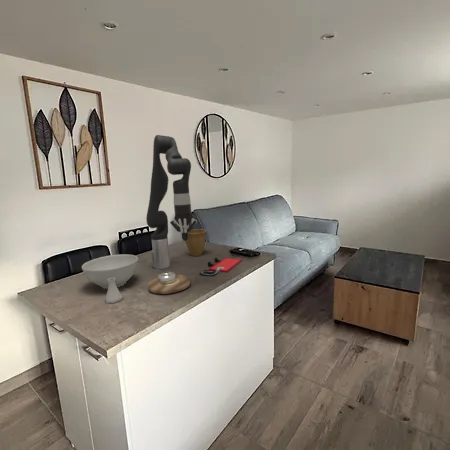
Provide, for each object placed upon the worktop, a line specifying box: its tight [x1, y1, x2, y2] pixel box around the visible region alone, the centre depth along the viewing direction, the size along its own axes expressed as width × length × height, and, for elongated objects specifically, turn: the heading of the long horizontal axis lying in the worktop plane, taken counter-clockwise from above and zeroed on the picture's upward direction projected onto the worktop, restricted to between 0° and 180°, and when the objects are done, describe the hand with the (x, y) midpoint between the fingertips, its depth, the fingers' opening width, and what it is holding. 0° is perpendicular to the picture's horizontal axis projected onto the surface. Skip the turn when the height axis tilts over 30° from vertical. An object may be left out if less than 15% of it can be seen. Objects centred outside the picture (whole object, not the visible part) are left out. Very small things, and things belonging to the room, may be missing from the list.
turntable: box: [147, 273, 191, 295], centre depth 142 cm, size 20×20×3 cm
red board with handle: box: [199, 257, 243, 276], centre depth 167 cm, size 30×3×15 cm
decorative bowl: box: [81, 253, 139, 290], centre depth 149 cm, size 27×27×12 cm
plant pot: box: [185, 228, 207, 257], centre depth 194 cm, size 15×15×16 cm
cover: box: [157, 270, 176, 285], centre depth 142 cm, size 8×8×5 cm
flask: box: [104, 278, 124, 304], centre depth 130 cm, size 7×7×10 cm
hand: (185, 240), depth 136 cm, fingers closed
